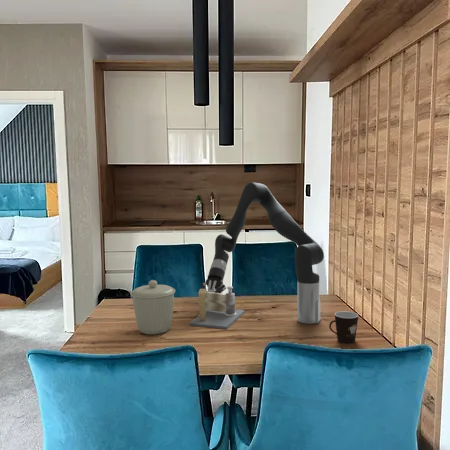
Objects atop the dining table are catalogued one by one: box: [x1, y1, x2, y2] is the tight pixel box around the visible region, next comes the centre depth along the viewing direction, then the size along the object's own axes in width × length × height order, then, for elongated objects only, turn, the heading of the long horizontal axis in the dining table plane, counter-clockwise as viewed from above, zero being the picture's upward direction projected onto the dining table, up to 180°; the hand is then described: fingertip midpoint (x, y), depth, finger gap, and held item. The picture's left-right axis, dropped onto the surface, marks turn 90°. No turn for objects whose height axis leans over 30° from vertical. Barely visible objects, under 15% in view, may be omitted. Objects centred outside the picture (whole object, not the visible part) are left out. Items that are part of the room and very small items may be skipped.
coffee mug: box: [328, 310, 359, 345], centre depth 168 cm, size 12×9×10 cm
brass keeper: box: [198, 288, 208, 321], centre depth 196 cm, size 8×3×13 cm, turn 178°
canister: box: [130, 279, 176, 335], centre depth 184 cm, size 18×18×21 cm
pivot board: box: [188, 285, 246, 330], centre depth 198 cm, size 17×24×14 cm
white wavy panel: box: [205, 292, 236, 314], centre depth 203 cm, size 15×4×9 cm, turn 62°
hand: (208, 302), depth 207 cm, fingers closed
